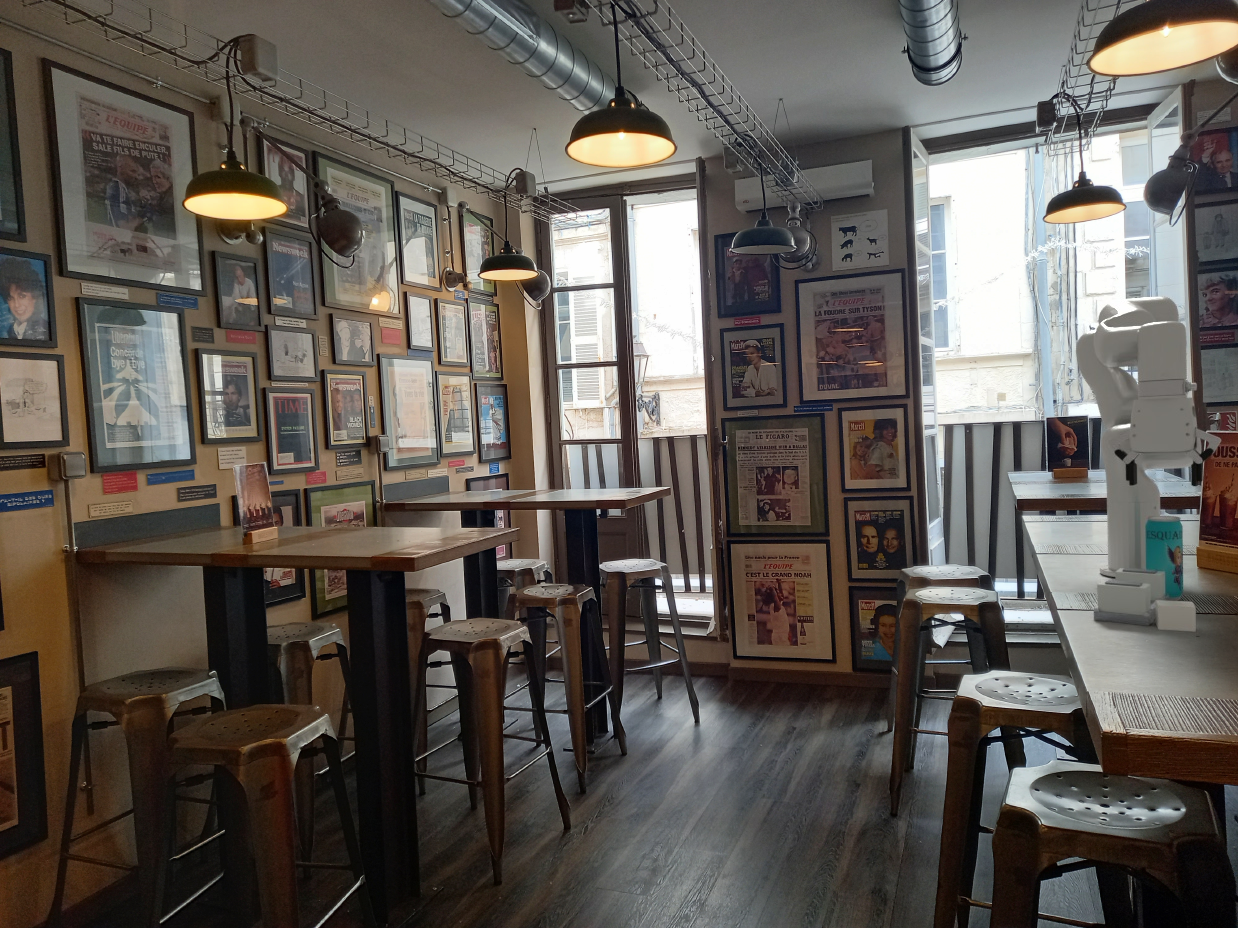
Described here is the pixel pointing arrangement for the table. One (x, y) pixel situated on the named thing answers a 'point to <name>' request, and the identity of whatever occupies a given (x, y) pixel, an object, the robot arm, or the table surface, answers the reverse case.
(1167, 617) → the block
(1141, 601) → the block
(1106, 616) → the rail
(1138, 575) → the module
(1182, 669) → the table surface
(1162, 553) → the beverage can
